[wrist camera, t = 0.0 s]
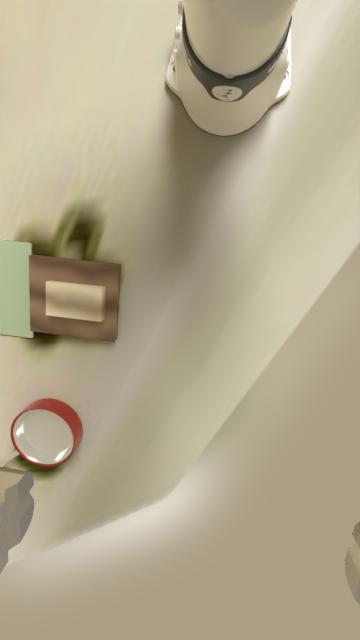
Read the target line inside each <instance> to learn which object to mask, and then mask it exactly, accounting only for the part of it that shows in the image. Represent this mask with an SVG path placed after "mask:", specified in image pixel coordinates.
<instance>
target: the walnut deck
mask: <svg viewBox="0 0 360 640" xmlns="http://www.w3.org/2000/svg"><path fill="white" fill-rule="evenodd" d="M120 274H121V264H113V263H104V262H95V261H86V260H77V259H68V258H59V257H50V256H41V255H29V295H30V331H33V332H41V333H49V334H57V335H65V336H73V337H81V338H89V339H97V340H105V341H113V342H114V341H115V340H116V339H117V329H118V310H119V292H120ZM50 280H52V281H61V282H69V283H78V284H86V285H95V286H104V287H106V289H105V312H104V320H103V321H101V322H98V321H89V320H81V319H73V318H65V317H57V316H49V315H46V281H50Z"/></svg>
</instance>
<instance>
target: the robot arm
mask: <svg viewBox="0 0 360 640" xmlns="http://www.w3.org/2000/svg"><path fill="white" fill-rule="evenodd" d="M296 2H297V0H179V5H178V13H179V14H180V15H181V17H180V21H179V25H177V26H176V30H175V41H174V45H173V49H172V53H171V57H170V61H169V65H168V69H167V73H166V82H167V85H168V87H169V88H170V89H171V90H172V91H173V92H174V93H175V94H176V95H177V96H179V97H180V99H181V101H182V103H183V105H184V107H185V109H186V111H187V113H188V115H189V116H190V118H191V119H192V120H193V121H194V122H195V123H196V124H197V125H198V126H199V127H200V128H202V129H203V130H205V131H207V132H209V133H212V134H215V135H222V136H228V135H234V134H238V133H241V132H243V131H245V130H247V129H249V128H250V127H252V126H253V125H254V124H255V123H257V122H258V121H259V120H260V119H261V117H262V116H263V115H264V114H265V112H266V111H267V110H268V109H269V107H270V106H271V105H272V104H274V103H276V102H278V101H279V100H281V99H282V98H284V97H285V96H286V95H287V94H288V93H289V91H290V88H291V20H292V13H293V10H294V7H295V5H296ZM174 69H175V71H173V70H174ZM284 77H285V79H284ZM283 79H284V80H283ZM33 485H34V483H33V474H32V473H30V472H27V471H21V470H16V469H10V468H5V467H0V573H1V572H2V570H3V569H4V567H5V565H6V564H7V562H8V550H9V549H11V548H12V547H14V546H15V545H17V544H18V543H20V541H21V540H22V538H23V536H24V535H25V533H26V531H27V529H28V527H29V524H30V522H31V519H32V515H33V510H34V499H33V497H32V496H31V495H30V493H29V491H30V489H31V488H32V487H33ZM352 535H353V537H354V539H355V541H356V543H355V544H353V545H352V546H351V547H349V548H348V549H347V553H346V557H345V571H346V577H347V581H348V585H349V587H350V590H351V592H352V595H353V597H354V599H356V601H357V602H358V603H359V604H360V522H359V523H358V524H356V525H355V527H354V530H353V533H352Z"/></svg>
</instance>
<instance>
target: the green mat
mask: <svg viewBox="0 0 360 640" xmlns="http://www.w3.org/2000/svg"><path fill="white" fill-rule="evenodd" d="M29 255H32V243H25V242H16V241H7V240H0V334H4V335H11V336H19V337H27V338H34V332H33V331H30V295H29Z"/></svg>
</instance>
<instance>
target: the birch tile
mask: <svg viewBox="0 0 360 640" xmlns="http://www.w3.org/2000/svg"><path fill="white" fill-rule="evenodd" d="M105 289H106V287H104V286H95V285H86V284H78V283H69V282H61V281H52V280H50V281H46V315H49V316H57V317H65V318H73V319H81V320H89V321H98V322H101V321H103V320H104V312H105Z"/></svg>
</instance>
